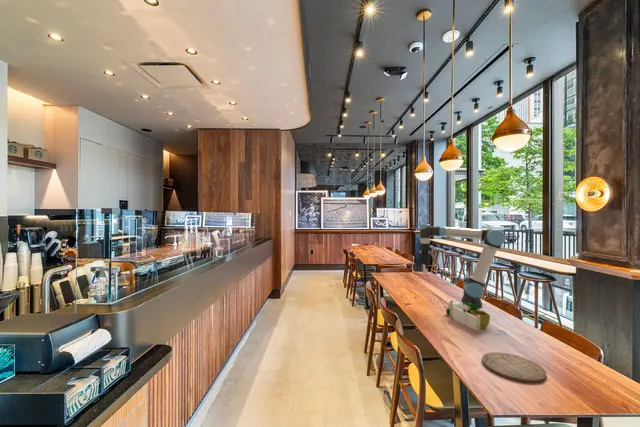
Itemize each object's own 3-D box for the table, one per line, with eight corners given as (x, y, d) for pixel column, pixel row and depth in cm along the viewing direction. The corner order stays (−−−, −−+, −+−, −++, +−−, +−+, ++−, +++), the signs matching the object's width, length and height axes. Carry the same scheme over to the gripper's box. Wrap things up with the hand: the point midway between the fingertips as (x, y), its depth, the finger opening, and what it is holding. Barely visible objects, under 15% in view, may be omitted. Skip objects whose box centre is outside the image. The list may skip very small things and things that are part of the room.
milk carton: (472, 313, 213) (444, 313, 213) (471, 301, 214) (444, 301, 214) (478, 317, 204) (450, 316, 204) (478, 304, 205) (449, 303, 205)
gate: (452, 317, 200) (452, 303, 200) (454, 317, 200) (454, 303, 200) (464, 324, 187) (464, 309, 187) (466, 324, 187) (466, 309, 188)
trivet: (516, 388, 120) (516, 383, 120) (470, 359, 144) (470, 355, 144) (560, 379, 127) (560, 375, 127) (509, 353, 151) (509, 349, 151)
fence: (449, 317, 203) (449, 300, 203) (453, 317, 203) (453, 300, 203) (478, 333, 175) (478, 314, 175) (482, 333, 175) (482, 313, 176)
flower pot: (484, 324, 191) (484, 310, 191) (490, 329, 182) (490, 315, 182) (470, 323, 191) (470, 310, 192) (475, 328, 183) (475, 314, 183)
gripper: (415, 242, 237) (415, 271, 236) (428, 244, 225) (428, 274, 225) (421, 242, 240) (422, 270, 240) (435, 243, 229) (435, 273, 228)
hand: (425, 272), depth 232 cm, fingers closed
